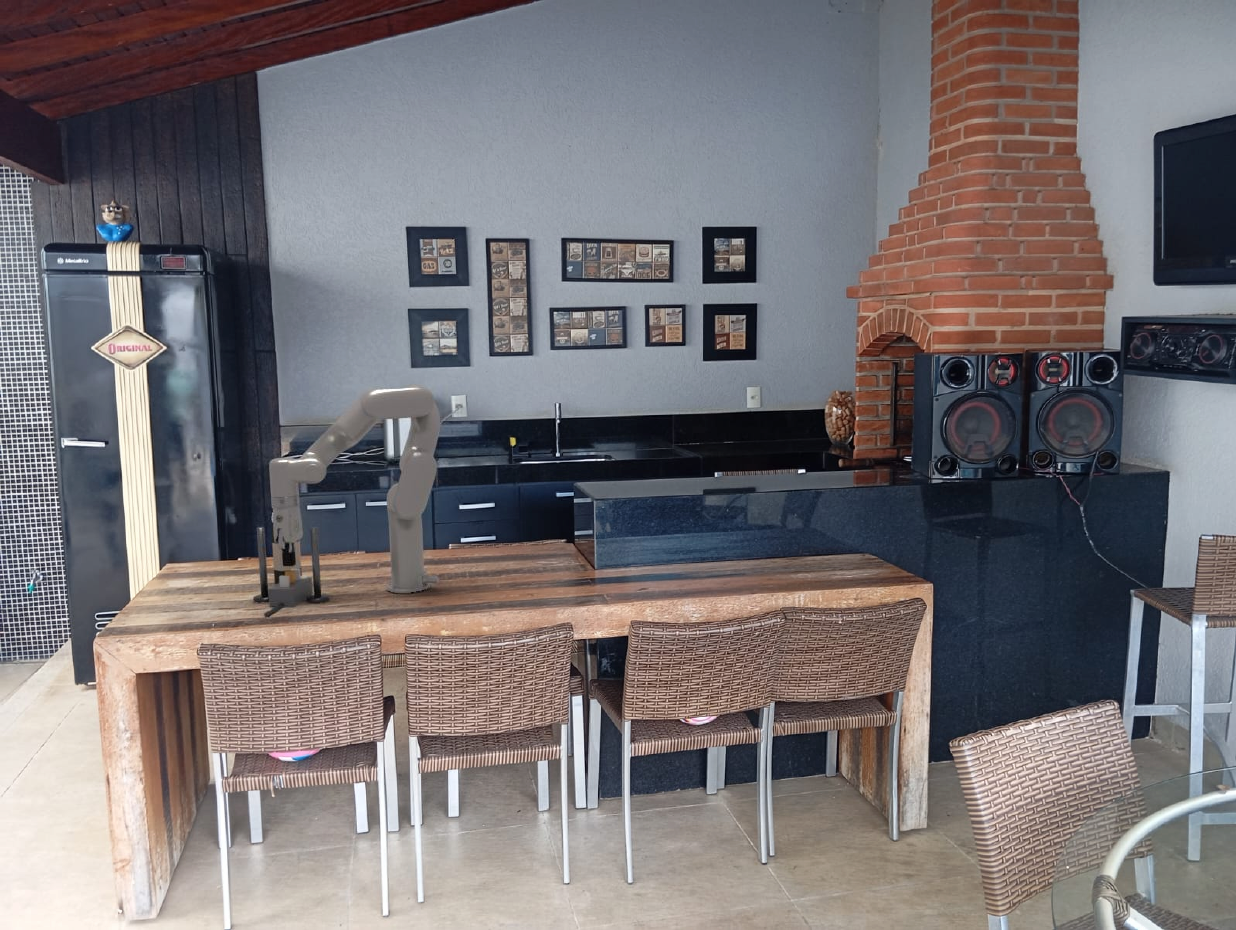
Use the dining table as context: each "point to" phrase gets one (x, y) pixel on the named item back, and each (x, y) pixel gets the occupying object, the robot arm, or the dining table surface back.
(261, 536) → the post
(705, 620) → the dining table surface
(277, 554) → the wine bottle
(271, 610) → the grey power strip
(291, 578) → the breaker paddle
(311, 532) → the post
